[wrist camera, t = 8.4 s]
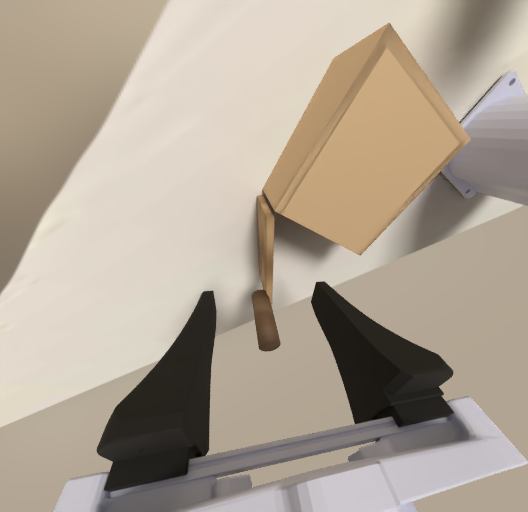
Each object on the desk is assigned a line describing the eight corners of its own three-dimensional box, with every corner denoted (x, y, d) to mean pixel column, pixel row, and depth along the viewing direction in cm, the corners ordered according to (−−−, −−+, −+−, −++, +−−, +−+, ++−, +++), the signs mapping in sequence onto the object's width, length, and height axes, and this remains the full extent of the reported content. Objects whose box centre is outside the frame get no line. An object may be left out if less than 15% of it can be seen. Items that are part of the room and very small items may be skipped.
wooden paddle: (263, 271, 25) (283, 349, 16) (248, 272, 24) (259, 353, 16) (263, 195, 19) (292, 253, 10) (242, 196, 19) (255, 257, 10)
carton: (405, 135, 18) (471, 139, 13) (332, 228, 23) (360, 255, 18) (334, 57, 14) (389, 22, 9) (262, 189, 19) (274, 211, 14)
